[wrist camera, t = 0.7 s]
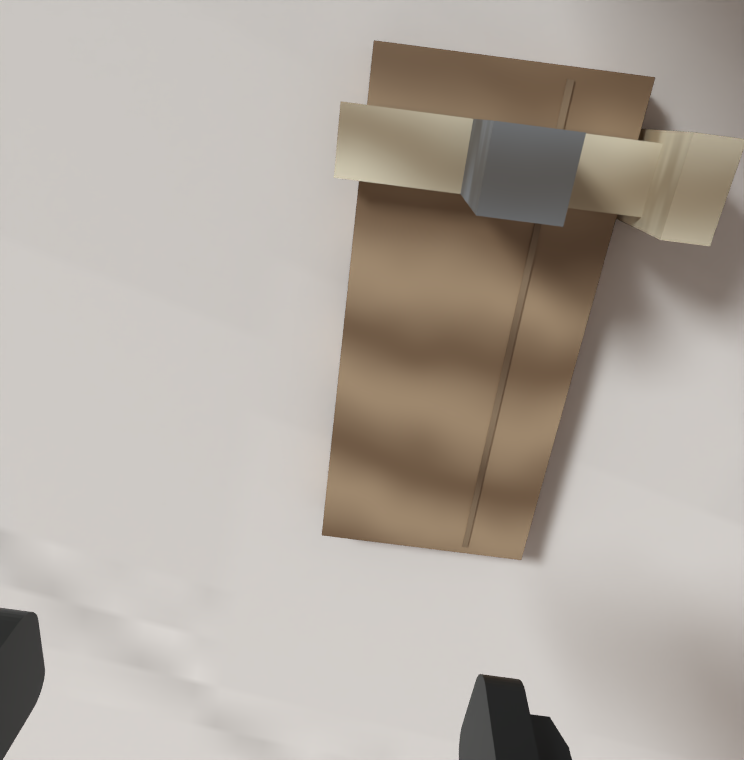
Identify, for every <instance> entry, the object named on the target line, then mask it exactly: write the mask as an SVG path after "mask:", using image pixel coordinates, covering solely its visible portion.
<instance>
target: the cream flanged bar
mask: <svg viewBox="0 0 744 760" xmlns="http://www.w3.org/2000/svg"><path fill="white" fill-rule="evenodd" d="M743 149H744V139H741V138H733V137H725V136H718V135H710V134H702V133H695V132H681V131H666V130H651V129H641V131H640V134H639V138H638V140H632V139H624V138H616V137H609V136H601V135H593V134H586V133H585V132H578V131H570V130H562V129H555V128H547V127H539V126H532V125H524V124H516V123H509V122H501V121H493V120H481V119H471V118H463V117H455V116H448V115H440V114H432V113H425V112H417V111H409V110H402V109H394V108H386V107H379V106H371V105H363V104H356V103H348V102H341V104H340V115H339V126H338V138H337V149H336V160H335V171H334V178H341V179H349V180H356V181H364V182H372V183H379V184H387V185H395V186H403V187H410V188H418V189H426V190H434V191H441V192H449V193H457V194H461V195H462V197H463V198H464V200H465V201H466V202H467V204H468V205H469V206H470V208H471V209H472V211H473V212H474V213H475V215H476V216H483V217H491V218H499V219H507V220H514V221H522V222H530V223H538V224H545V225H553V226H561V227H563V226H564V222H565V218H566V213H567V209H568V208H573V209H580V210H588V211H596V212H604V213H611V214H617V217H616V219H618V220H620V221H623V222H625V223H627V224H629V225H631V226H633V227H635V228H637V229H639V230H641V231H643V232H645V233H647V234H649V235H651V236H653V237H655V238H657V239H659V240H664V241H672V242H679V243H687V244H695V245H703V246H710V244H711V242H712V239H713V236H714V233H715V230H716V227H717V224H718V221H719V218H720V216H721V213H722V210H723V207H724V204H725V201H726V198H727V195H728V193H729V190H730V187H731V184H732V181H733V178H734V175H735V172H736V169H737V167H738V164H739V161H740V158H741V155H742V152H743Z"/></svg>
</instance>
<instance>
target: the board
mask: <svg viewBox="0 0 744 760" xmlns="http://www.w3.org/2000/svg"><path fill="white" fill-rule="evenodd" d="M654 80H655V77H648V76H641V75H633V74H625V73H618V72H610V71H603V70H595V69H587V68H580V67H572V66H564V65H557V64H549V63H542V62H534V61H526V60H519V59H511V58H504V57H496V56H488V55H481V54H473V53H466V52H458V51H450V50H443V49H435V48H427V47H420V46H412V45H405V44H397V43H389V42H382V41H374V44H373V54H372V63H371V73H370V82H369V92H368V101H367V105H371V106H379V107H386V108H394V109H402V110H409V111H417V112H425V113H432V114H440V115H448V116H455V117H463V118H471V119H481V120H493V121H501V122H509V123H516V124H524V125H532V126H539V127H547V128H555V129H562V130H570V131H578V132H585V133H586V134H593V135H601V136H609V137H616V138H624V139H632V140H638V138H639V134H640V131H641V127H642V123H643V120H644V116H645V113H646V109H647V105H648V102H649V98H650V95H651V91H652V87H653V84H654ZM616 217H617V214H611V213H604V212H596V211H588V210H580V209H573V208H568V209H567V213H566V218H565V222H564V226H563V227H561V226H553V225H545V224H538V223H530V222H522V221H514V220H507V219H499V218H491V217H483V216H476V215H475V213H474V212H473V211H472V209H471V208H470V206H469V205H468V204H467V202H466V201H465V200H464V198H463V197H462V195H461V194H457V193H449V192H441V191H434V190H426V189H418V188H410V187H403V186H395V185H387V184H379V183H372V182H364V181H359V187H358V196H357V206H356V215H355V225H354V234H353V244H352V253H351V263H350V272H349V282H348V291H347V301H346V310H345V320H344V329H343V339H342V348H341V358H340V367H339V377H338V386H337V396H336V405H335V415H334V424H333V434H332V443H331V453H330V462H329V472H328V481H327V491H326V500H325V510H324V519H323V529H322V535H324V536H332V537H340V538H348V539H356V540H364V541H372V542H380V543H388V544H396V545H404V546H412V547H420V548H428V549H436V550H444V551H453V552H461V553H469V554H477V555H485V556H493V557H501V558H509V559H517V560H521V559H522V555H523V552H524V548H525V544H526V541H527V537H528V534H529V530H530V526H531V523H532V519H533V516H534V512H535V508H536V505H537V501H538V498H539V494H540V490H541V487H542V483H543V480H544V476H545V472H546V469H547V465H548V462H549V458H550V454H551V451H552V447H553V444H554V440H555V436H556V433H557V429H558V426H559V422H560V418H561V415H562V411H563V408H564V404H565V400H566V397H567V393H568V390H569V386H570V382H571V379H572V375H573V372H574V368H575V364H576V361H577V357H578V354H579V350H580V346H581V343H582V339H583V336H584V332H585V328H586V325H587V321H588V318H589V314H590V310H591V307H592V303H593V300H594V296H595V293H596V289H597V285H598V282H599V278H600V275H601V271H602V267H603V264H604V260H605V257H606V253H607V249H608V246H609V242H610V239H611V235H612V231H613V228H614V224H615V221H616Z"/></svg>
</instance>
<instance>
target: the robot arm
mask: <svg viewBox="0 0 744 760" xmlns="http://www.w3.org/2000/svg"><path fill="white" fill-rule="evenodd" d="M44 676H45V666H44V659H43V652H42V644H41V637H40V630H39V622H38V617H37V615H36V614H35V613H34V612H28V611H20V610H13V609H5V608H0V760H3V758H4V757H5V755H6V753H7V752H8V750H9V748H10V747H11V745H12V743H13V742H14V740H15V738H16V737H17V735H18V733H19V732H20V730H21V728H22V727H23V725H24V723H25V722H26V720H27V718H28V717H29V715H30V713H31V712H32V710H33V708H34V706H35V704H36V702H37V700H38V698H39V695H40V692H41V689H42V686H43V682H44ZM459 760H572V758H571V755H570V751H569V747H568V745H567V744H566V742H565V741H564V739H563V737H562V736H561V734H560V733H559V731H558V730H557V728H556V726H555V725H554V723H553V722H552V720H551V718H550V717H546V716H538V715H531V714H530V712H529V707H528V702H527V698H526V693H525V689H524V686H523V683H522V681H521V680H519V679H512V678H505V677H498V676H490V675H483V674H479V675H478V677H477V679H476V682H475V685H474V689H473V692H472V695H471V698H470V702H469V705H468V708H467V711H466V714H465V718H464V721H463V724H462V728H461V734H460V742H459Z"/></svg>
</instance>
